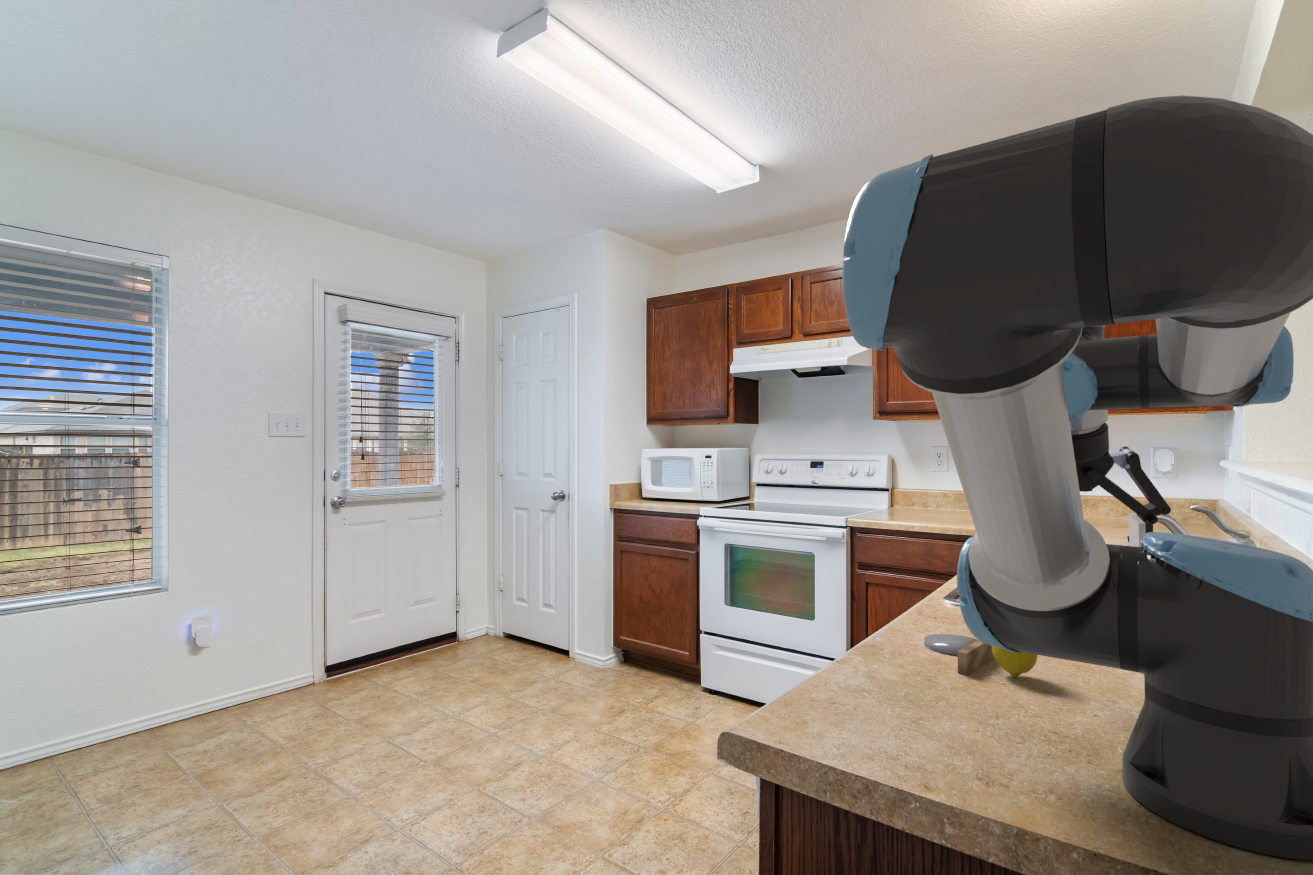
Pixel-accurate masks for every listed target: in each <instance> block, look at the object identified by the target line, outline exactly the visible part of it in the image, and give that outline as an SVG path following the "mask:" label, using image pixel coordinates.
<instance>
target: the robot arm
mask: <svg viewBox="0 0 1313 875" xmlns="http://www.w3.org/2000/svg"><path fill="white" fill-rule="evenodd" d="M846 224H847V225H846V230H845V236H844V240H843V241H844V243H843V254H842V255H843V256H842V276H841V277H842V294H843V303H844V310H845V315H846V320H847V323H848V327H849V330H850V332H851V335H852V337H853V339H854V341H856V342H857V344H858V345H859V346H861V347H862V348H866V349H867V350H868V349H869V350H870V349H874V350H876V351H884V350H885V349H886V348H893V349H894V350H893V351H895V355H896V358H897V360H898V364H899V365H900V369H901V372H903V375H904V376H905V377H906V378H907V379H908V380H909V381H910V382H911V383H912V384H913V385H915V386H917V387H918V388H920V389H922V390H925V391H927V392H929V393H932V397H933V399H934V403H935V405H936V409H937V412H938V415H939V418H940V419H939V420H940V421H941V425H942V428H943V432H944V434H945V437H946V441H947V444H948V446H949V450H950V453H951V456H952V459H953V462H954V466H955V469H956V473H957V475H958V478H959V481H960V485H961V487H962V491H963V494H964V497H965V500H966V504H967V507H968V510H969V512H970V517H971V519H972V523H973V525H974V529H975V531H976V532H975V534H974V535H973V536H970V537H969V538H967V540H966V541H965V542H964V543H963V545H962V547H961V549H960V552H959V556H958V561H957V570H956V587H957V588H956V589H957V595H958V596H959V599H960V600H959V601H960V602H959V608H960V612H961V616H962V618H963V621H964V623H965V625H966V628H967V629H968V630H969V632H970V633H971V635H972V636H973V637H975V639H977V640H979V641H981V642H983V643H985V644H988V645H992V646H996V647H1000V648H1003V649H1005V650H1007V651H1010V652H1016V653H1021V652H1024V653H1030V654H1035V655H1037V656H1042V657H1049V658H1054V659H1061V660H1065V661H1070V662H1071V661H1073V662H1077V663H1082V664H1083V663H1085V664H1090V665H1096V666H1101V667H1106V668H1113V669H1118V670H1123V671H1128V672H1133V673H1134V672H1135V673H1139V674H1142V675H1143V677H1144V700H1143V704H1142V707H1141V710H1140V712H1139V714H1138V717H1137V720H1136V721H1135V723H1134V726H1133V729H1132V731H1131V734H1130V735H1129V739H1128V741H1127V743H1126V746H1125V749H1124V750H1123V753H1122V759H1121V763H1122V765H1121V767H1122V768H1121V769H1122V771H1121V772H1122V783H1123V786H1124V787H1125V789H1126V790H1127V792H1128V793H1129V794H1130V795H1131V796H1132V797H1133V798H1134V799H1135V800H1136V801H1138V802H1139V803H1140V804H1141V805H1143V806H1144V807H1145V808H1147V809H1149V810H1150V811H1151V812H1153V813H1155V814H1157V815H1159V816H1160V817H1162V818H1163V819H1166V820H1168V821H1169V822H1171V823H1174V824H1175V825H1177V826H1179V827H1182V828H1183V829H1186V830H1189V831H1192V832H1193V833H1196V834H1199V835H1201V836H1204V837H1206V838H1209V839H1211V840H1215V841H1217V842H1221V843H1223V844H1226V845H1229V846H1232V847H1233V846H1234V847H1236V848H1240V849H1244V850H1248V851H1251V852H1255V853H1259V854H1264V855H1270V856H1274V857H1279V858H1284V859H1285V858H1287V859H1291V860H1292V859H1293V860H1304V861H1313V569H1312V568H1311V567H1310V566H1309V565H1307V564H1306V563H1305V562H1304V561H1302V560H1300V559H1298V558H1296V557H1293V556H1291V555H1289V554H1285V553H1282V552H1278V551H1273V550H1270V549H1265V548H1261V547H1258V546H1253V545H1247V544H1243V543H1238V542H1233V541H1227V540H1222V539H1215V538H1209V537H1203V536H1197V535H1191V534H1190V535H1189V534H1183V533H1171V532H1161V531H1154V525H1155V524H1157V522H1158V521H1159V519H1158V516H1161V515H1164V516H1166V515H1168V514H1171V511H1172V508H1171V507H1170V505H1169V504H1168V503H1167V502H1166V499H1164V497H1163V496H1162V495H1161V493H1160V492H1159V491H1158V489H1157V488H1156V486H1155V485H1154V484H1153V482H1152V481H1151V479H1150V478H1149V476H1148V475H1147V474H1146V472H1145V471H1144V470H1143V468H1142V464H1141V458H1140V455H1139V454H1138V453H1137V452H1135V450H1133V449H1131V448H1130V447H1128V446H1122V447H1121V448H1119V451H1117V452H1113V453H1110V451H1109V450H1110V437H1109V425H1108V423H1106V422H1107V421H1108V419H1109V414H1108V412H1109V411H1108V410H1127V409H1128V410H1129V409H1130V410H1131V409H1133V410H1135V409H1149V408H1178V407H1179V408H1180V407H1181V408H1183V407H1185V408H1186V407H1216V406H1217V407H1219V406H1220V407H1221V406H1223V407H1225V406H1232V407H1233V408H1235V407H1236V408H1240V407H1245V406H1247V407H1248V406H1249V405H1261V404H1273V403H1279V402H1283V401H1284V400H1285V399H1286V398H1287V397H1288V396H1289V395H1290V393H1291V391H1292V390H1291V389H1292V384H1293V382H1294V344H1293V338H1292V334H1291V332H1290V331H1289V329H1288V328H1287V327H1286V326H1285V324H1286V322H1287V321H1288V318H1289V317H1290V315H1291V313H1293V312H1294V311H1296V310H1299V309H1301V308H1302V307H1303V306H1305V305H1306V304H1308V303H1309V302H1310V301H1312V300H1313V134H1312V133H1311V132H1309V131H1308V130H1306V129H1304V128H1303V127H1301V126H1299V125H1298V124H1296V123H1295V122H1293V121H1291V120H1289V119H1287V118H1285V117H1282V116H1280V115H1278V114H1275V113H1273V112H1271V111H1268V110H1266V109H1264V108H1261V107H1258V106H1253V105H1250V104H1245V103H1241V102H1238V101H1234V100H1229V99H1226V98H1221V97H1220V98H1218V97H1208V96H1207V97H1205V96H1195V95H1193V96H1192V95H1170V96H1156V97H1150V98H1143V99H1137V100H1133V101H1132V100H1131V101H1129V102H1126V103H1121V104H1117V105H1114V106H1109V107H1107V109H1104V110H1100V111H1096V112H1093V113H1090V114H1086V115H1082V116H1078V117H1075V118H1070V119H1067V120H1065V121H1061V122H1057V123H1053V124H1049V125H1046V126H1042V127H1038V128H1034V129H1032V130H1027V131H1023V132H1020V133H1016V134H1013V135H1009V136H1005V137H1002V138H998V139H995V140H990V141H988V142H983V143H980V144H976V145H972V146H968V147H964V148H962V149H957V150H953V151H950V152H946V153H943V154H940V155H936V156H934V155H933V154H931V153H930V154H927V155H925V156H924V157H922V159H921V160H919V161H915V162H912V163H909V164H907V165H903V166H900V167H897V168H894V169H893V168H892V169H891V170H888V171H884V172H881V173H879V174H877V175H875V176H874V177H872V178H871V179H870V180H868V181H867V183H865V184H864V186H863V187H862V188H861V190H860V191H859V192H858V194H857V195H856V197H855V199H854V201H853V204H852V206H851V209H850V212H849V217H848V220H847V223H846ZM1148 320H1151V321H1152V320H1155V325H1156V333H1155V334H1144V335H1142V334H1141V335H1136V336H1135V335H1134V336H1133V335H1132V336H1123V337H1111V338H1110V337H1109V338H1105V331H1104V330H1105V329H1106V326H1111V325H1115V324H1121V323H1123V324H1124V323H1132V322H1141V321H1148ZM1114 464H1116V465H1117V466H1119V467H1120V468H1121V469H1124V471H1125V472H1126V473H1127V474H1128V475H1129V477H1130V478H1131V480H1132V481H1133V483H1134V484H1135V486H1137V488H1138V489H1139V490H1140V492H1141V493H1142V495H1143V496H1144V497H1145V498H1146V500H1147V501H1148V503H1146V504H1143V503H1141V502H1140V501H1139V500H1137V499H1136V498H1135V497H1133V496H1132V495H1130V493H1128V492H1127V491H1126V490H1124V489H1123V488H1121V487H1120V486H1119V485H1117V484H1116V483H1115V482H1114V481H1112V480H1111V479H1109V478H1108V477H1107V474H1108V473H1109V472H1110V471H1111V469H1112V468H1113V466H1114ZM1097 487H1100V488H1102V489H1103V490H1104V491H1106V492H1107V493H1108V494H1110V495H1112V496H1113V497H1114V498H1115V499H1117V500H1118V501H1119V502H1121V504H1123V505H1124V506H1126V507H1127V508H1129V509H1130V510H1131V511H1133V512H1134V513H1128V519H1127V520H1128V538H1129V539H1128V542H1129V544H1128V545H1121V544H1113V543H1112V544H1110V543H1106V540H1105V539H1104V537H1103V536H1102V535H1101V533H1100V531H1098V530H1097V529H1096V527H1095V526H1094V525H1092V524H1091V523H1090V522H1089V521H1087V519H1085V518H1084V513H1083V512H1084V510H1083V505H1082V499H1081V492H1085V493H1086V492H1087V493H1088V492H1093V490H1094V489H1095V488H1097Z"/></svg>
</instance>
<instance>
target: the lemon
mask: <svg viewBox="0 0 1313 875" xmlns="http://www.w3.org/2000/svg"><path fill="white" fill-rule="evenodd" d="M992 652H993V656H994V658H993V659H994V660H995V662H996V664H997V665H998V666H999V667H1000V668H1001V669H1003V670H1004V671H1005V672H1008V674H1009V675H1010V676H1011V677H1012V678H1018V677H1019V676H1020V675H1021V674H1022V675H1023V674H1026V673H1028V672H1030V671H1031V670H1032V669H1033V668H1034V667H1035V665H1036V663H1037V661H1038V655H1035V654H1030V653H1024V652H1021V653H1016V652H1010V651H1007V650H1005V649H1003V648H1000V647H996V646H992Z"/></svg>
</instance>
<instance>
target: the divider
mask: <svg viewBox="0 0 1313 875" xmlns="http://www.w3.org/2000/svg"><path fill="white" fill-rule="evenodd" d="M992 659H995V658H994V656H993V652H992V645H988V644H985V643H983V642H981V641H979V640H978V639H977V641H975V642H974V643H972V644H970V645H968V646H967V647H965V648H963V649H961V650H959V651H958V656H957V673H958V674H961V675H964V676H965V675H966V676H967V675H970V674H971V673H972V672H974V671H975V670H977V669H979V668H981V666H983V665H985V664H986V663H988V662H989V661H991V660H992Z"/></svg>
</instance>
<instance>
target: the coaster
mask: <svg viewBox="0 0 1313 875" xmlns="http://www.w3.org/2000/svg"><path fill="white" fill-rule="evenodd" d="M977 640H978V639H977V638H973V637H971V636H965V635H959V634H950V633H935V634H933V633H932V634H928V635H926V636H925V637H924V638H923V644H924V646H925V647H926V648H928V649H929V650H931V651H934V652H938V653H940V652H941V654H944V655H945V654H946V655H950V654H951V656H957V655H958V651H959V650H961V649H963V648H965V647H967V646H968V645H970V644H972V643H974V642H975V641H977Z"/></svg>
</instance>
